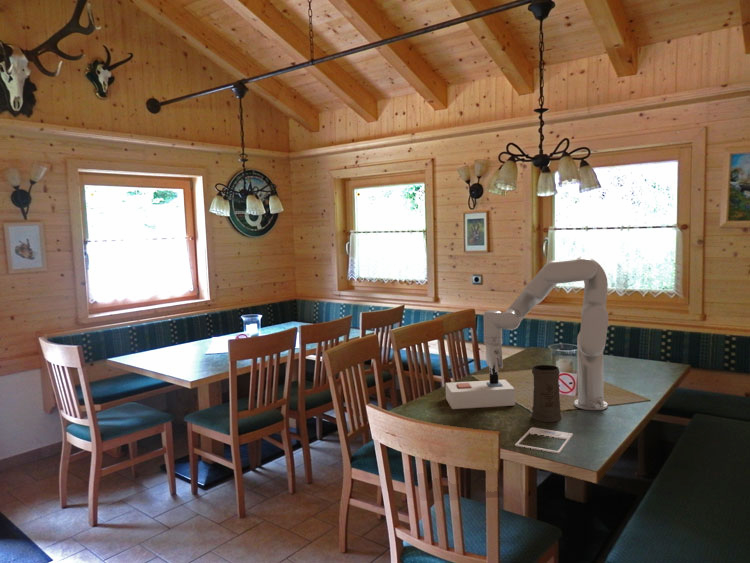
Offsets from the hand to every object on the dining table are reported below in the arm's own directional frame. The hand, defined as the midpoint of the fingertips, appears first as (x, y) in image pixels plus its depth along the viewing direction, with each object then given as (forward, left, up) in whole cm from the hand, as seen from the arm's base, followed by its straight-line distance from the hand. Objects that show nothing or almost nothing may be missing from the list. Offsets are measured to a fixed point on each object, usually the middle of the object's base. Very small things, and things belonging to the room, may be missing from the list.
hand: (494, 383), depth 237 cm
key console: (0, +6, -8) cm, 10 cm away
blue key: (0, 0, -4) cm, 4 cm away
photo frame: (-45, -6, -8) cm, 46 cm away
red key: (0, +13, -4) cm, 13 cm away
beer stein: (-21, -14, -8) cm, 26 cm away
